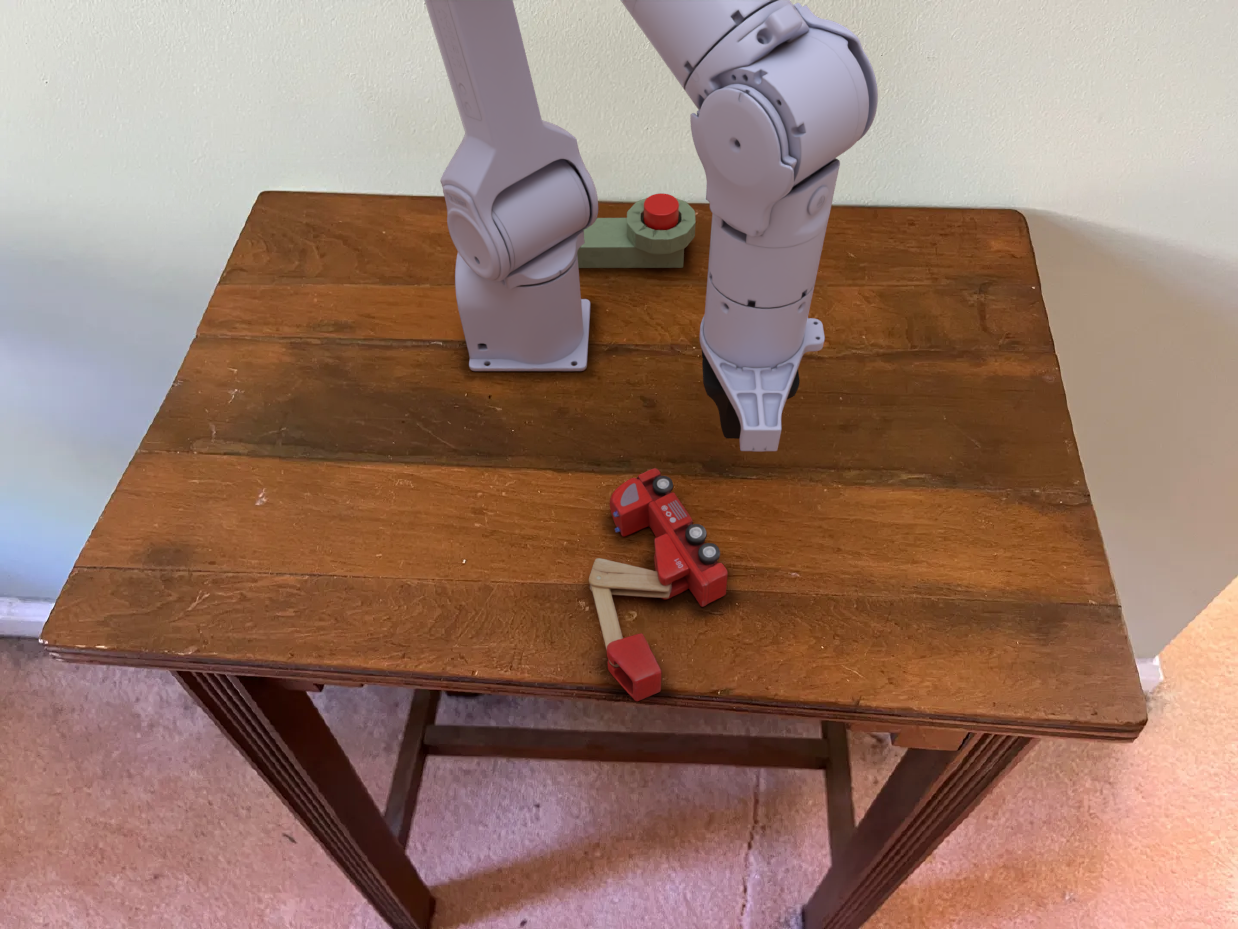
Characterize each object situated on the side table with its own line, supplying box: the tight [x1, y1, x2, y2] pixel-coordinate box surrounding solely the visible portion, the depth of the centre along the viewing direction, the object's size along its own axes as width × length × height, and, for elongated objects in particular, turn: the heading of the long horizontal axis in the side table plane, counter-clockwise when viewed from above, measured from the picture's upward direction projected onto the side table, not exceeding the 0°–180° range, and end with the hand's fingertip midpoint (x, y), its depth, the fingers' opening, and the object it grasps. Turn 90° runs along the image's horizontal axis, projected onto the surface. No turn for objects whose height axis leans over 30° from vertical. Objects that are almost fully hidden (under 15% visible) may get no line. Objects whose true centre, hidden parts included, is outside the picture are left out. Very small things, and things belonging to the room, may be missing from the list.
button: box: [644, 192, 679, 230], centre depth 74 cm, size 3×3×2 cm
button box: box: [577, 197, 696, 269], centre depth 76 cm, size 11×6×4 cm, turn 89°
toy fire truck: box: [588, 467, 729, 702], centre depth 57 cm, size 3×14×10 cm
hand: (739, 430), depth 57 cm, fingers closed
